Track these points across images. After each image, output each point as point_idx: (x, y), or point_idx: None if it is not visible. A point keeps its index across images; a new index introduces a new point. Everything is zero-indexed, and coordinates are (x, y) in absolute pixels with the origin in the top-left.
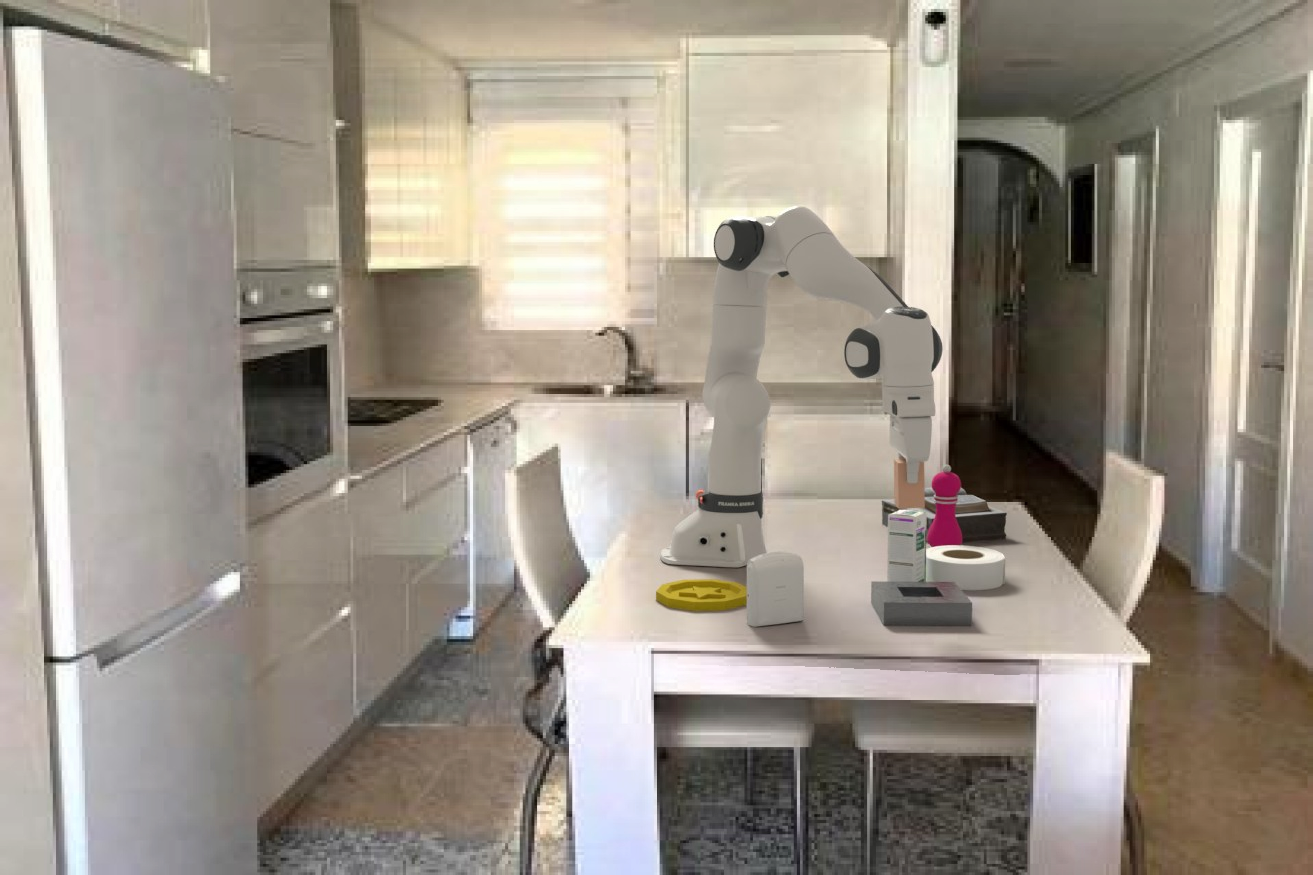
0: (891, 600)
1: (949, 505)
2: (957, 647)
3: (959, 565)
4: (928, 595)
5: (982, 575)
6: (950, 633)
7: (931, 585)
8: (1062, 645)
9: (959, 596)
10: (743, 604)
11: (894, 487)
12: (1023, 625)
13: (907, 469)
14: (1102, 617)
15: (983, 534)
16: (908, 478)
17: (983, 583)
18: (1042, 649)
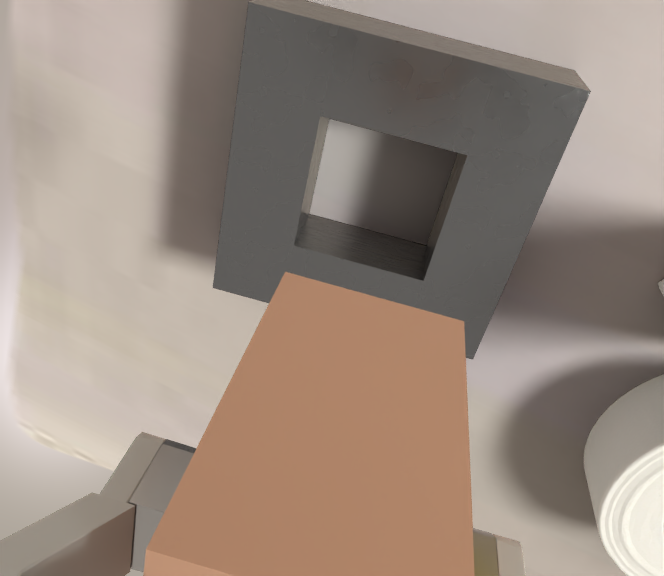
0: (272, 45)
1: None
2: (30, 120)
3: (631, 456)
4: (432, 245)
5: (592, 480)
6: (164, 165)
7: (449, 276)
8: (63, 354)
9: None
10: None
11: (453, 396)
12: (224, 364)
13: (44, 519)
14: None
15: None
16: (122, 461)
17: (586, 464)
18: (30, 303)
